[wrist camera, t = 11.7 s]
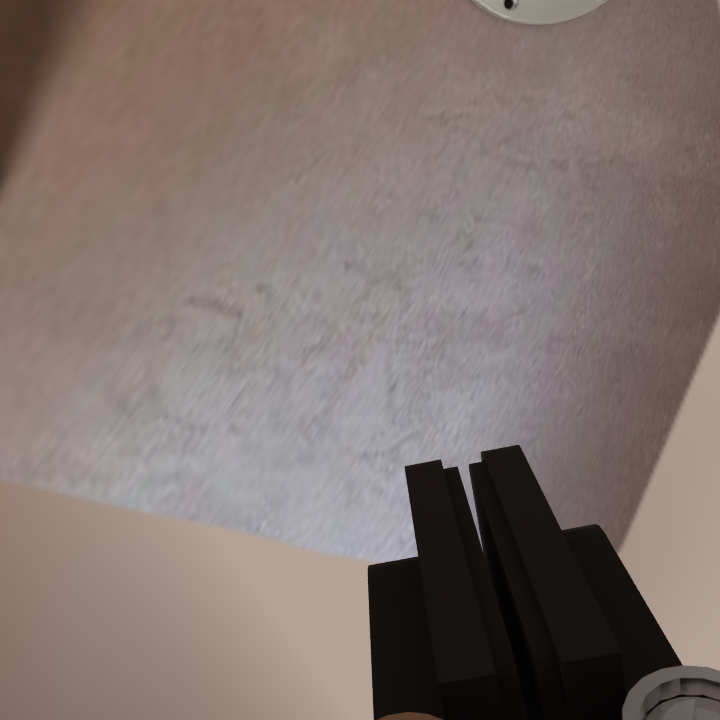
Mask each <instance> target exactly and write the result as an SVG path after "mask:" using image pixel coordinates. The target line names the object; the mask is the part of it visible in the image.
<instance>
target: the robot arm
mask: <svg viewBox="0 0 720 720" xmlns="http://www.w3.org/2000/svg"><path fill="white" fill-rule="evenodd" d="M472 1H473V2H474V3H475V4H476V5H477V6H479V7H480V8H482V9H484V10H485V11H487V12H489V13H491V14H492V15H494V16H496V17H498V18H501V19H504V20H507V21H510V22H513V23H517V24H526V25H537V26H539V25H547V24H556V23H561V22H564V21H567V20H571V19H574V18H577V17H579V16H581V15H584V14H586V13H588V12H590V11H592V10H595V9H596V8H598V7H599V6H600V5H602V4H603V3H605V2H606V1H608V0H510V1H511V2H512V6H511V8H510V9H507V8H505V6H504V2H505V0H472ZM481 460H482V462H478V463H473V464H469V471H470V477H471V483H472V489H473V495H474V501H475V506H476V512H477V518H478V524H479V530H480V536H481V541H482V547H483V550H482V547H481V544H480V540H479V537H478V534H477V530H476V527H475V524H474V520H473V517H472V513H471V510H470V507H469V503H468V500H467V497H466V493H465V490H464V487H463V483H462V480H461V476H460V473H459V470H458V467H452V468H447V469H443V466H442V462H441V460H436V461H430V462H425V463H420V464H414V465H409V466H405V473H406V479H407V486H408V492H409V499H410V505H411V512H412V518H413V525H414V531H415V538H416V544H417V551H418V557H412V558H407V559H401V560H396V561H390V562H385V563H379V564H374V565H369V567H368V592H369V616H370V639H371V661H372V662H371V664H372V687H373V708H374V710H373V711H374V720H720V671H718V670H715V669H712V668H708V667H697V666H683V665H682V664H681V662H680V660H679V658H678V657H677V655H676V653H675V652H674V650H673V648H672V647H671V645H670V643H669V641H668V640H667V638H666V636H665V635H664V633H663V631H662V630H661V628H660V626H659V624H658V623H657V621H656V619H655V618H654V616H653V614H652V613H651V611H650V609H649V607H648V606H647V604H646V602H645V601H644V599H643V597H642V596H641V594H640V592H639V591H638V589H637V587H636V585H635V584H634V582H633V580H632V579H631V577H630V575H629V574H628V572H627V570H626V568H625V567H624V565H623V563H622V562H621V560H620V558H619V557H618V555H617V553H616V551H615V550H614V548H613V546H612V545H611V543H610V541H609V540H608V538H607V536H606V534H605V533H604V531H603V530H602V529H601V527H600V526H598V525H596V524H594V525H588V526H583V527H577V528H572V529H566V530H561V528H560V526H559V524H558V522H557V520H556V518H555V516H554V514H553V512H552V510H551V508H550V506H549V504H548V502H547V500H546V498H545V496H544V494H543V492H542V490H541V488H540V486H539V484H538V482H537V480H536V478H535V476H534V474H533V472H532V470H531V468H530V465H529V463H528V461H527V459H526V457H525V455H524V453H523V451H522V449H521V447H520V446H519V445H515V446H509V447H504V448H499V449H493V450H488V451H483V452H481ZM483 553H484V554H483Z"/></svg>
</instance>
